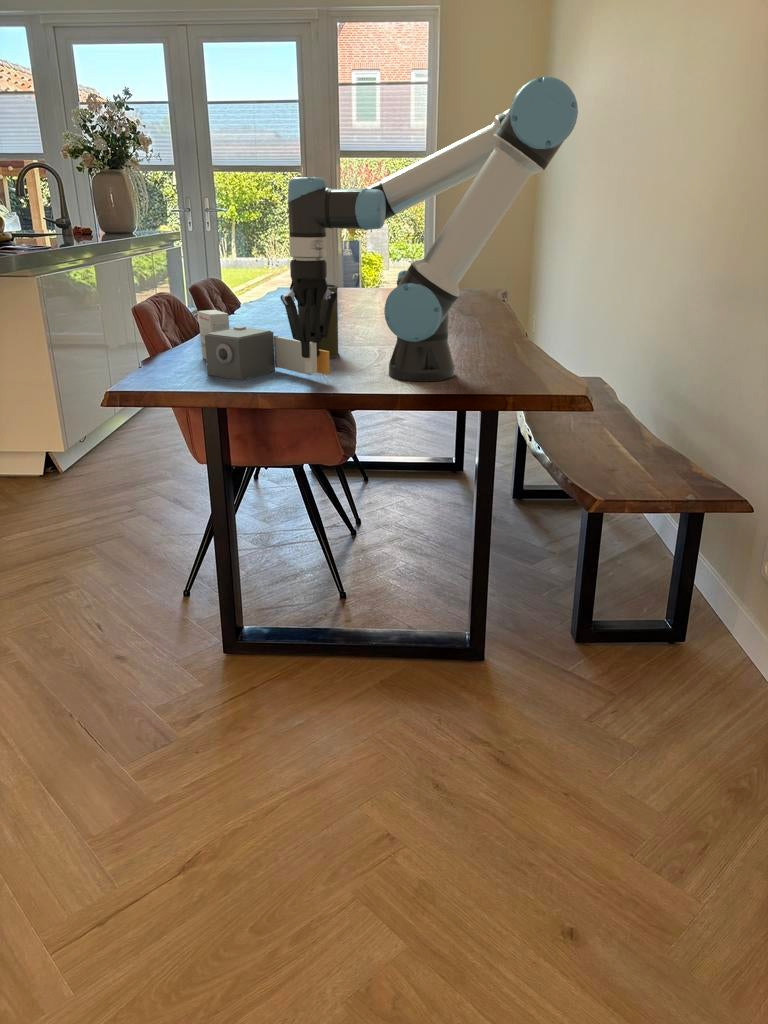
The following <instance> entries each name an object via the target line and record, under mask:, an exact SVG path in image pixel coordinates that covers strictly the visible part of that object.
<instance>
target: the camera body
mask: <svg viewBox="0 0 768 1024" xmlns="http://www.w3.org/2000/svg"><path fill="white" fill-rule="evenodd" d="M274 336H275V335H274V331H272V330H269V329H268V330H267V329H260V328H253V327H252V328H251V327H246V326H240V325H238V326H234V327H233V328H229V329H228V330H223V331H218V332H213V333H207V335H205V347H206V359H207V360H206V369H207V370H206V371H207V375H208V376H214V377H221V378H226V379H230V380H231V379H232V380H239V381H243V380H246V379H250V378H253V377H258V376H262V375H263V374H264V375H265V374H268V373H272V372H275V371H276V367H275V352H274Z"/></svg>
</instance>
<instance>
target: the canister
mask: <svg viewBox="0 0 768 1024" xmlns="http://www.w3.org/2000/svg"><path fill="white" fill-rule="evenodd" d="M326 279H327V278H326ZM326 279H325V280H326ZM326 284H327V286H328V289H329V290H330V291H332V292H335V293H337V294H338V289H339V286H338V285H337V284H331V283H328V282H327V280H326ZM323 299H324V298H322V300H321V306H322V301H323ZM338 304H339V303H338V296H337V297H336V299H335V301H334V303H333V307H332V313H331V318H330V324H329V329H328V334H327V337H326V338H323V339H322V342H321V343H319V349H320V350H325V351H329V359H331V360H332V359H337V358H338V357H339V356H340V353H339V322H338V321H339V320H338V319H339V318H338V317H339V316H338V315H339V314H338V313H339V311H338V307H339V306H338ZM297 312H298V317H299V309H298V308H297ZM320 312H321V309H320Z"/></svg>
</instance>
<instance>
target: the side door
mask: <svg viewBox="0 0 768 1024" xmlns="http://www.w3.org/2000/svg"><path fill="white" fill-rule="evenodd" d="M274 356H275V369H277V368H278V369H281V370H282V369H284V370H285V371H286V370H287V371H291V372H295V373H298V374H303V375H308V376H311V375H313V374H311V373H308V372H305V358H304V357H302V350H301V342H300V341H298V340H295V339H293V338H287V337H281V336H279V335H274ZM330 362H331V361H330V359H329V351H325V350H320V349H319V357H317V373H316V374H323V375H326V376H328V375H331V369H330V365H331V364H330Z"/></svg>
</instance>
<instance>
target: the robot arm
mask: <svg viewBox="0 0 768 1024" xmlns="http://www.w3.org/2000/svg"><path fill="white" fill-rule="evenodd" d="M510 106H511V107H509V108H508V109H506V110H505V111H503V112H501V113H499V114H497V115H495V117H494V119H493V122H492V123H491V124H489V125H487V126H486V127H483V128H482V129H479V130H477V131H476V132H474V133H471V134H470V135H468V136H466V137H464V138H462V139H459V140H458V141H455V142H454V143H452V144H450V145H448V146H446V147H444V148H442V149H440V150H438V151H436V152H435V153H433V154H431V155H429V156H425V158H422V159H420V160H419V161H417V162H415V163H413V164H411V165H409V166H407V167H405V168H403V169H400V170H399V171H397V172H395V173H393V174H391V175H389V176H387V177H385V178H382V180H380V181H377V182H375V183H373V184H371V185H370V186H369V185H368V186H367V187H365V188H330V187H329V188H328V187H327V185H326V180H325V178H323V177H306V176H305V177H303V176H302V177H298V176H296V177H292V178H290V180H288V181H289V182H288V185H287V186H288V188H287V189H288V191H287V207H288V208H287V209H288V213H287V214H288V228H289V229H288V231H289V233H288V234H289V238H288V239H289V257H291V258H292V259H291V260H290V261H289V267H290V268H289V269H290V273H289V274H290V278H291V284H290V287H289V291H288V292H286V294H281V295H280V301H282V303H283V305H284V308H285V311H286V316H287V320H288V323H289V327H290V332H291V336H292V339H293V340H298V341H300V342H301V350H302V357H304V358H305V372H308V373H311V374H312V375H313V374H318V373H317V357H319V343H321V342H322V339H323V338H326V337H327V334H328V329H329V324H330V318H331V313H332V307H333V303H334V301H335V299H336V297H337V298H338V292H337V293H335V292H332V291H330V290H329V289H328V286H327V284H328V283H327V284H326V282H327V280H325V279H327V271H328V270H327V269H328V268H327V261H326V260H325V259H324V258H326V256H327V229H333V230H334V229H346V230H364V231H369V230H380V229H382V228H383V227H384V224H385V222H386V220H388V219H390V218H392V217H394V216H396V215H397V214H400V213H402V212H404V211H406V210H408V209H410V208H412V207H414V206H417V205H419V204H420V203H423V202H424V201H427V200H429V199H431V198H433V197H435V196H438V195H439V194H441V193H444V192H445V191H447V190H449V189H450V188H451V189H452V188H453V187H455V186H458V185H460V184H462V183H464V182H466V181H468V180H470V179H472V178H474V180H473V181H472V182H471V184H470V186H469V187H468V189H467V190H466V192H465V193H464V195H463V197H462V198H461V200H460V201H459V203H458V204H457V206H456V207H455V209H454V211H453V212H452V214H451V216H450V217H449V218H448V220H447V222H446V223H445V225H444V226H443V228H442V229H441V231H440V233H438V235H437V237H436V238H435V240H434V242H433V243H432V245H431V247H430V248H429V250H428V251H427V253H426V254H425V256H424V257H423V258H422V259H418V260H414V261H412V262H411V263H410V265H409V267H408V268H407V270H405V269H404V270H400V272H398V275H397V280H396V287H394V288H393V290H391V291H390V293H389V294H388V296H387V298H386V300H385V304H384V313H383V314H384V318H385V322H386V325H387V327H388V328H389V330H390V331H391V332H392V333H393V334H394V335H395V336H396V342H395V345H394V348H393V351H392V354H391V357H390V361H389V364H388V375H389V376H390V378H391V377H392V378H394V379H397V380H402V381H409V382H410V381H411V382H412V381H413V382H436V381H437V382H439V381H444V380H448V379H451V378H453V377H454V376H455V364H454V359H453V356H452V353H451V349H450V345H449V323H450V322H449V320H450V319H449V317H450V310H451V308H452V307H453V306H454V304H455V303H456V301H457V299H458V298H459V296H460V288H459V283H460V282H461V281H462V279H463V277H464V276H465V274H466V273H467V271H468V270H469V269H470V267H471V266H472V263H474V261H475V260H476V258H477V257H478V255H479V253H480V252H481V251H482V250H483V248H484V246H485V245H486V243H487V242H488V240H489V239H490V238H491V235H492V234H493V233H494V231H495V230H496V229H497V226H499V224H500V223H501V221H502V219H504V218H503V217H504V216H505V215H506V213H507V212H508V210H509V209H510V208H511V206H512V205H513V203H514V202H515V201H516V198H517V197H518V196H519V194H520V193H521V191H522V189H523V188H524V186H525V185H526V184H527V182H528V180H530V178H531V176H533V175H536V174H540V173H544V171H545V170H546V168H547V167H548V165H549V164H550V162H551V161H552V159H553V158H554V156H555V155H556V154H557V152H558V150H559V149H560V148H561V147H562V145H563V143H564V142H565V140H567V139H568V138H569V136H570V135H571V134H572V132H573V131H574V129H575V126H576V124H577V120H578V115H579V105H578V101H577V98H576V96H575V93H574V92H573V90H572V89H571V87H570V86H569V85H568V84H567V83H566V82H564V81H563V80H561V79H559V78H556V77H553V76H540V77H535V78H534V79H531V80H529V81H528V82H526V83H525V84H524V85H523V86H521V87H520V88H519V89H518V91H517V92H516V93H515V95H514V97H513V99H512V103H511V105H510ZM322 298H324V299H323V301H322V306H321V300H322ZM295 302H297V305H296V303H295ZM298 309H299V317H298ZM320 309H321V312H320Z"/></svg>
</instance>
